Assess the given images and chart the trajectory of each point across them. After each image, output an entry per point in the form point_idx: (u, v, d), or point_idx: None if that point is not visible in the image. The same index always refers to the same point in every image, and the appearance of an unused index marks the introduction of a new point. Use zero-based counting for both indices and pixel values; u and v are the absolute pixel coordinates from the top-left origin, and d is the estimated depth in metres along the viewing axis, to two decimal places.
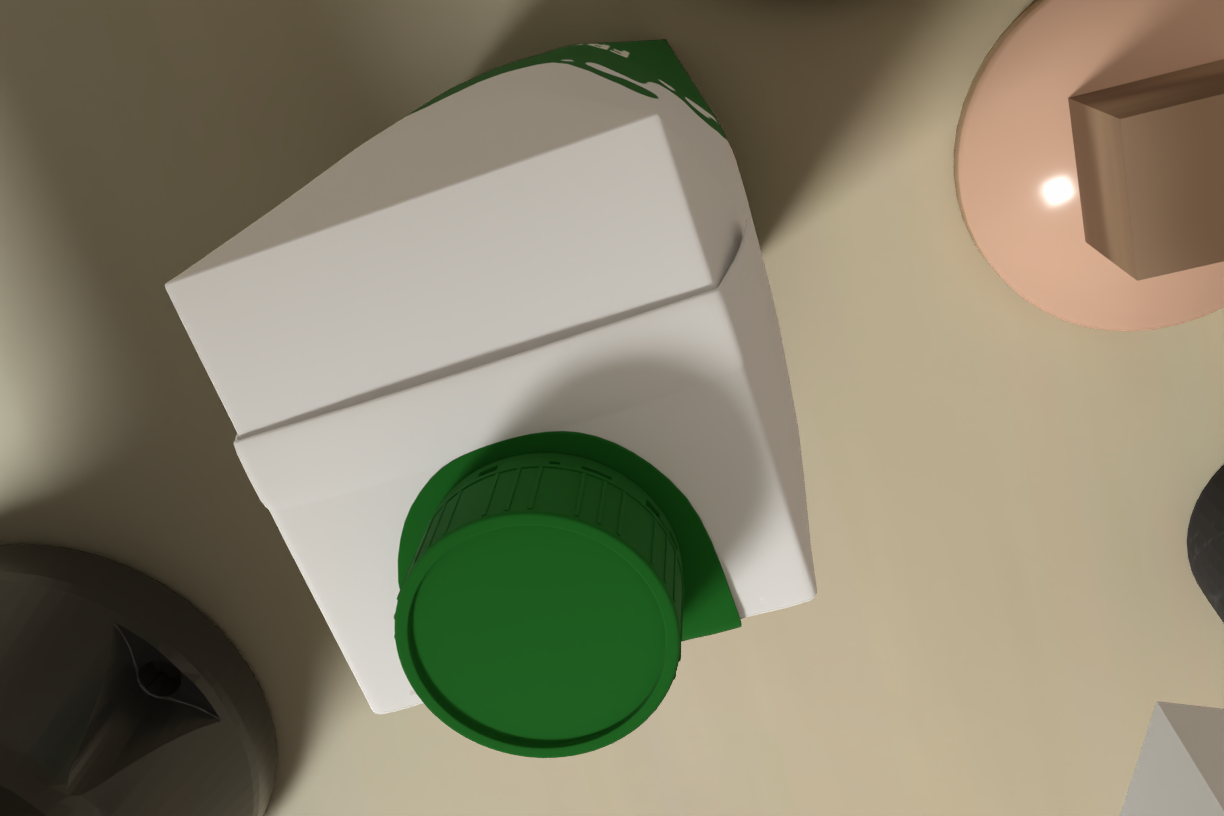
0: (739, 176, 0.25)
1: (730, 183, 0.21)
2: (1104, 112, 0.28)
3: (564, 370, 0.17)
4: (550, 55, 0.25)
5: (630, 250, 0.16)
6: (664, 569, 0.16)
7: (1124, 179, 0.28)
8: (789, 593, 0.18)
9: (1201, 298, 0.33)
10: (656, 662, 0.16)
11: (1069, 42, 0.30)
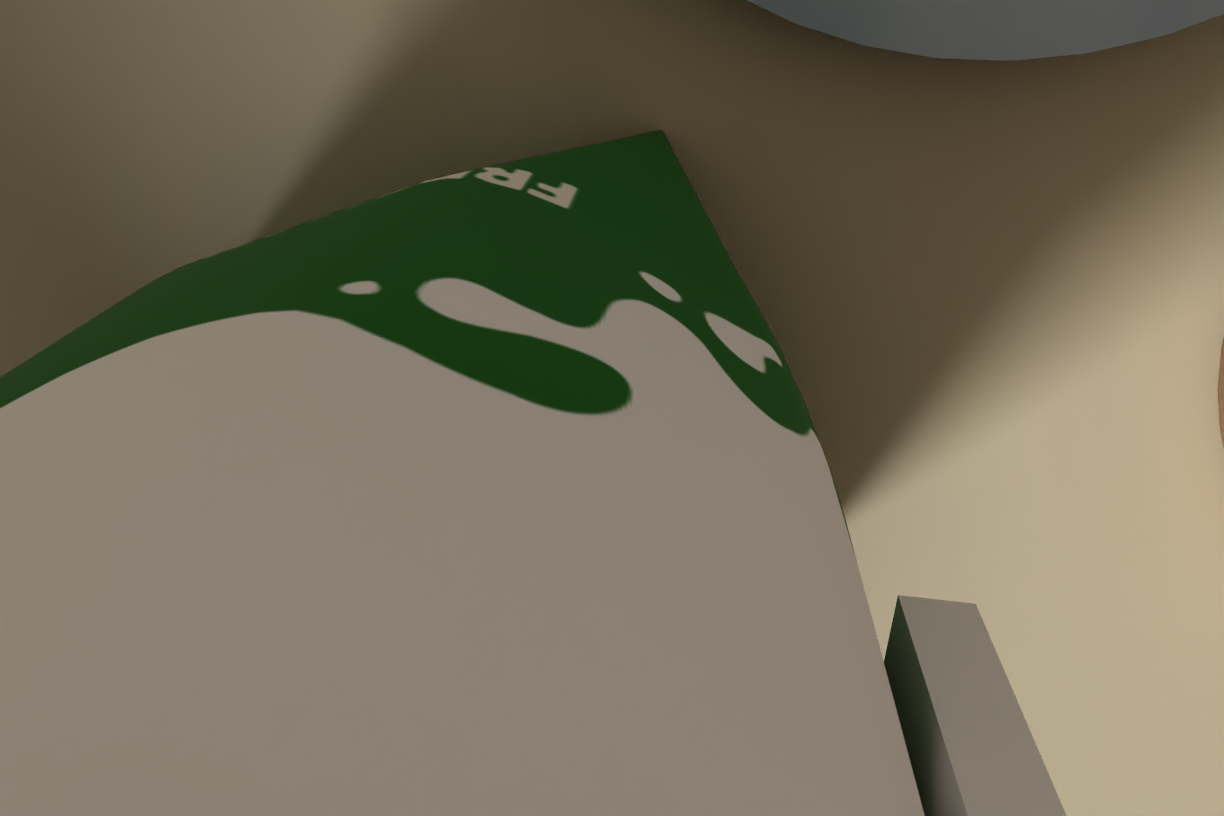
0: (860, 590, 0.09)
1: None
2: None
3: None
4: (344, 241, 0.09)
5: None
6: None
7: None
8: None
9: None
10: None
11: None
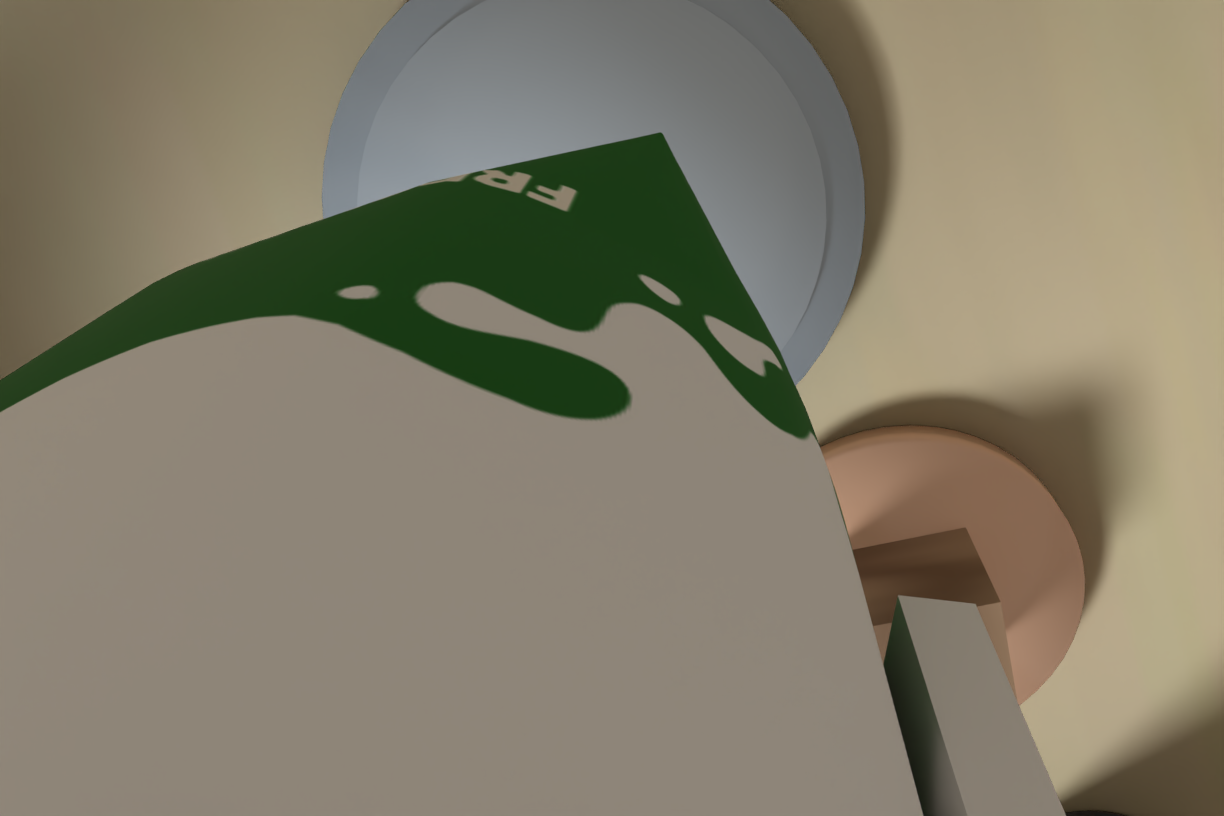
0: (860, 595, 0.09)
1: None
2: None
3: None
4: (343, 245, 0.09)
5: None
6: None
7: None
8: None
9: None
10: None
11: None
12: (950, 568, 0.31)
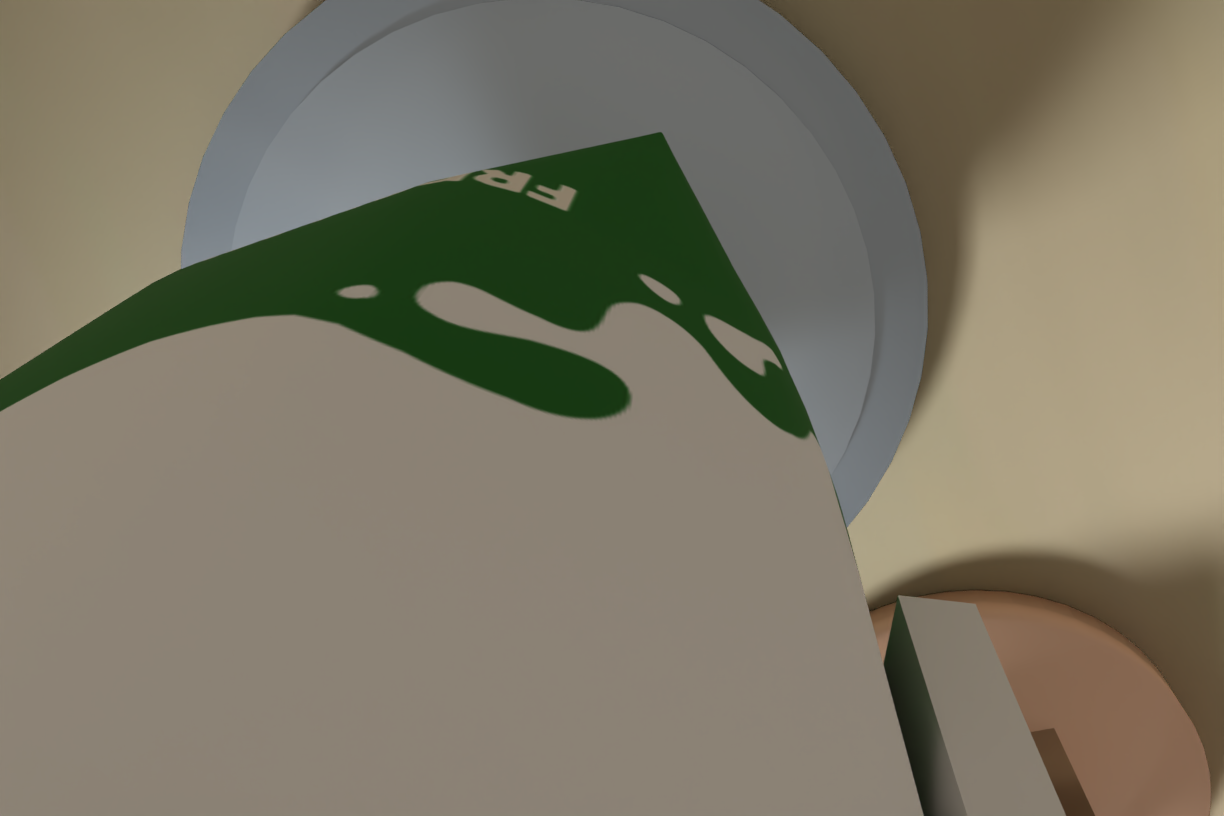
0: (860, 595, 0.09)
1: None
2: None
3: None
4: (342, 244, 0.09)
5: None
6: None
7: None
8: None
9: None
10: None
11: None
12: None
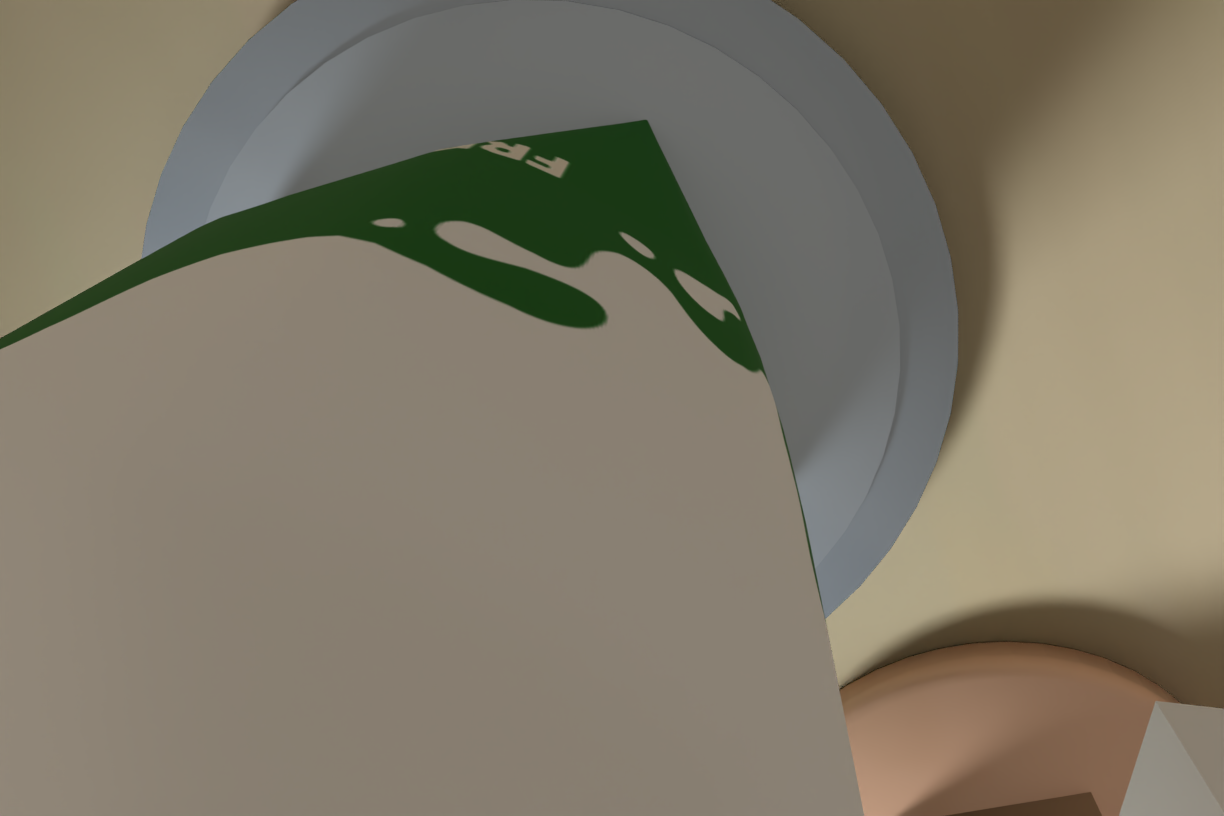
0: (791, 492, 0.11)
1: (794, 696, 0.07)
2: None
3: None
4: (372, 190, 0.11)
5: None
6: None
7: None
8: None
9: None
10: None
11: (881, 767, 0.23)
12: None
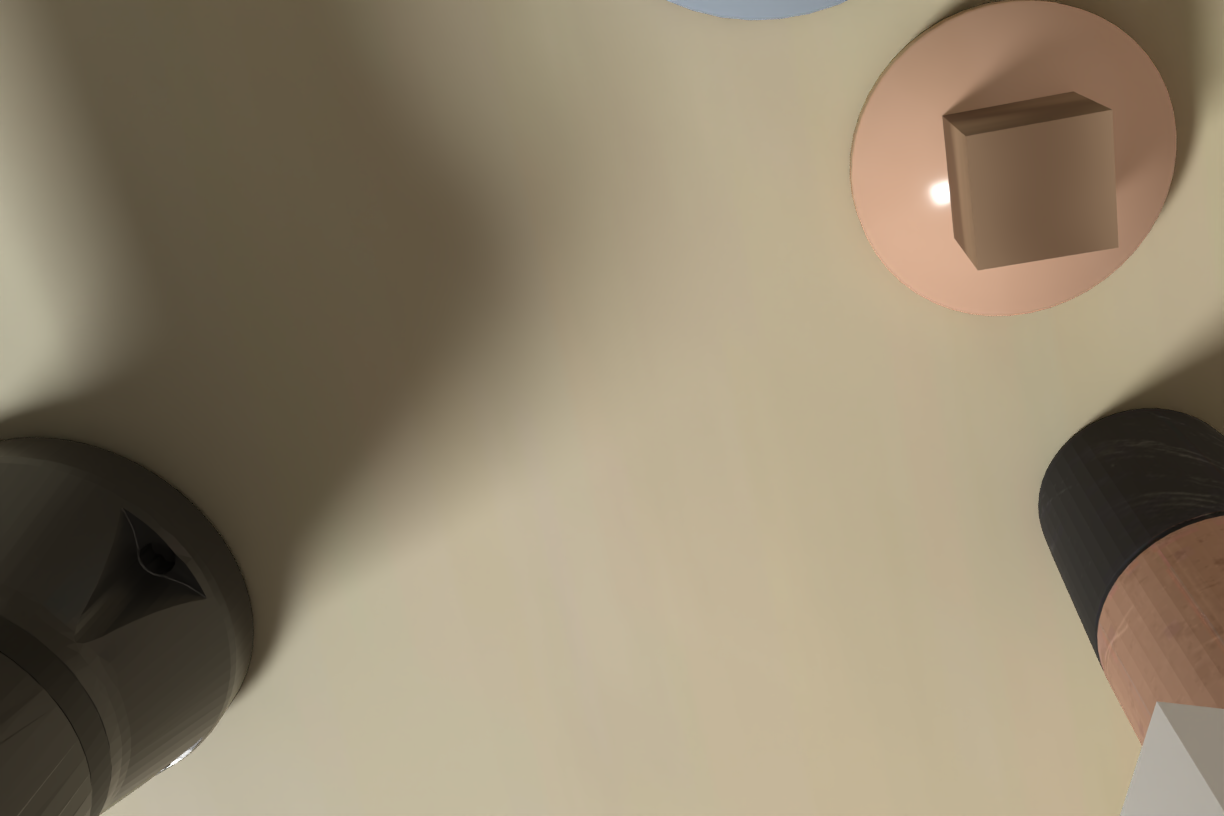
0: None
1: None
2: (959, 129, 0.34)
3: None
4: None
5: None
6: None
7: (969, 186, 0.34)
8: None
9: (1049, 292, 0.39)
10: None
11: (944, 69, 0.36)
12: (1062, 105, 0.35)
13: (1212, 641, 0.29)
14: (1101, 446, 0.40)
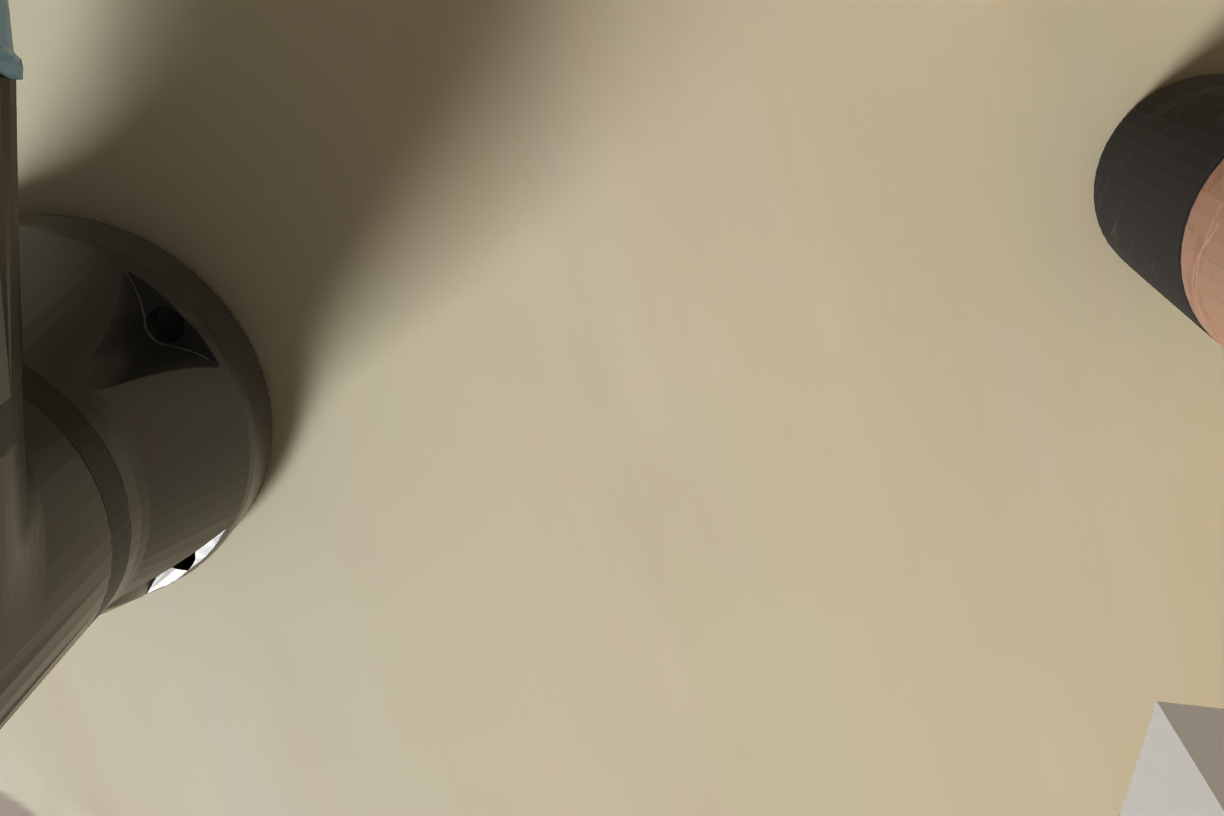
0: None
1: None
2: None
3: None
4: None
5: None
6: None
7: None
8: None
9: None
10: None
11: None
12: None
13: None
14: (1161, 107, 0.38)
